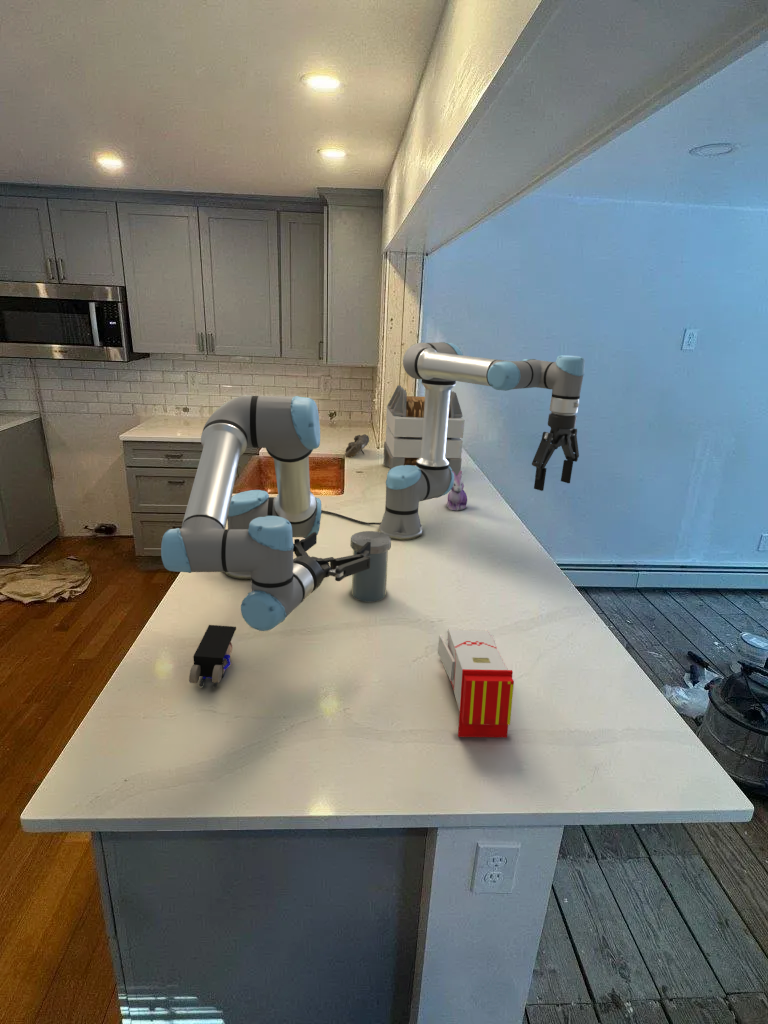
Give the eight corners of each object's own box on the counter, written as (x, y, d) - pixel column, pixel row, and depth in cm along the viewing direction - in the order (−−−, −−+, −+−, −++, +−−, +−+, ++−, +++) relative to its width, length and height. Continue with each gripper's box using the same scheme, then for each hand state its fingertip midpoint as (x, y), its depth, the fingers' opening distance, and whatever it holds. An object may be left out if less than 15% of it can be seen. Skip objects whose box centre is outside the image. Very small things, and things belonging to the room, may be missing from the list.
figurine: (453, 512, 223) (457, 475, 218) (439, 504, 231) (442, 469, 226) (473, 509, 227) (477, 473, 222) (459, 501, 236) (462, 467, 231)
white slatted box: (382, 463, 289) (386, 382, 275) (445, 464, 293) (451, 384, 279) (390, 482, 257) (394, 392, 243) (460, 483, 261) (468, 394, 247)
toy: (488, 613, 130) (523, 677, 101) (484, 667, 133) (517, 744, 104) (435, 612, 130) (455, 676, 101) (432, 666, 133) (451, 743, 103)
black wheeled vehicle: (223, 699, 115) (239, 649, 128) (220, 670, 112) (236, 622, 125) (189, 698, 115) (209, 649, 128) (185, 669, 111) (206, 622, 125)
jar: (385, 586, 162) (388, 534, 157) (386, 602, 153) (388, 547, 148) (352, 585, 162) (353, 532, 156) (351, 601, 153) (352, 546, 147)
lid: (390, 538, 158) (390, 531, 157) (391, 554, 148) (391, 547, 147) (351, 537, 157) (351, 530, 157) (349, 553, 147) (350, 546, 146)
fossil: (345, 440, 315) (366, 425, 310) (356, 453, 318) (377, 439, 313) (338, 454, 296) (361, 438, 291) (350, 468, 298) (372, 452, 293)
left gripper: (244, 584, 117) (293, 548, 136) (356, 609, 110) (391, 566, 129) (243, 551, 115) (293, 519, 134) (357, 574, 107) (393, 536, 126)
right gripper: (548, 419, 148) (537, 496, 155) (598, 411, 163) (586, 482, 171) (525, 414, 153) (515, 489, 160) (575, 407, 169) (564, 476, 176)
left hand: (341, 542), depth 131 cm, fingers open, 13 cm apart
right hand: (552, 485), depth 166 cm, fingers open, 13 cm apart
